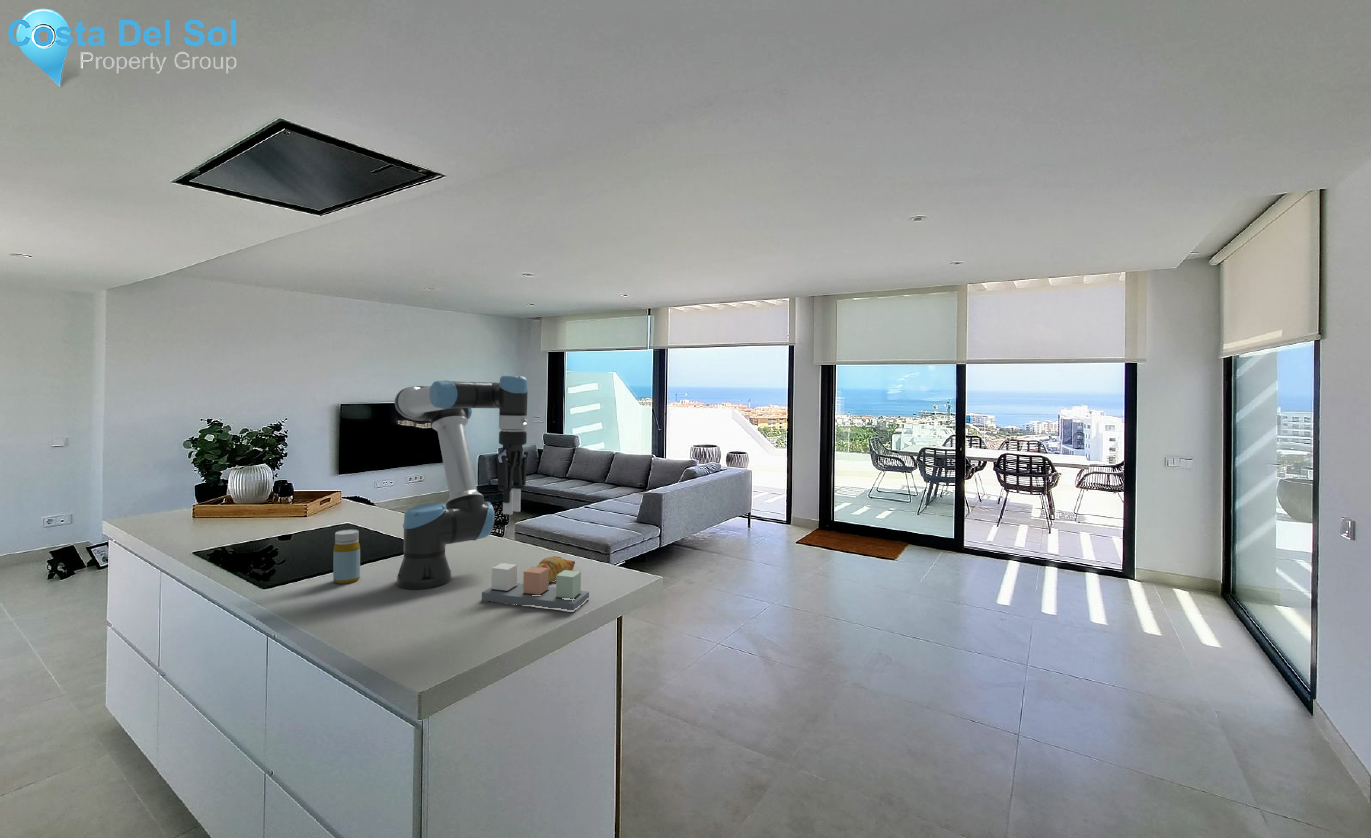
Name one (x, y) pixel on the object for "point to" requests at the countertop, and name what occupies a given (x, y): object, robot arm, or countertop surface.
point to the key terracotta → (535, 580)
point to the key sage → (568, 584)
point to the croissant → (556, 566)
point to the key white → (504, 576)
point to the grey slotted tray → (533, 598)
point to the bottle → (346, 557)
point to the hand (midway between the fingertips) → (511, 512)
